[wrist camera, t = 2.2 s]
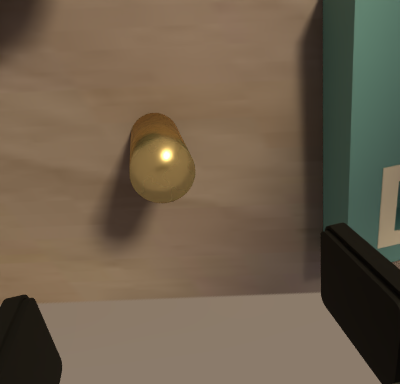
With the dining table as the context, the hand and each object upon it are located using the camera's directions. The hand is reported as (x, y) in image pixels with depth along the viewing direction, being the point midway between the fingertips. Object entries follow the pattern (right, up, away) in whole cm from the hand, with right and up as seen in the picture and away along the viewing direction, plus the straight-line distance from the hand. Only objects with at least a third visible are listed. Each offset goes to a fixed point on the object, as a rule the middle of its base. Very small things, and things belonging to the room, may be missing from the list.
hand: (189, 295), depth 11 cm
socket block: (+18, +10, +22) cm, 30 cm away
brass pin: (-3, +8, +18) cm, 20 cm away
